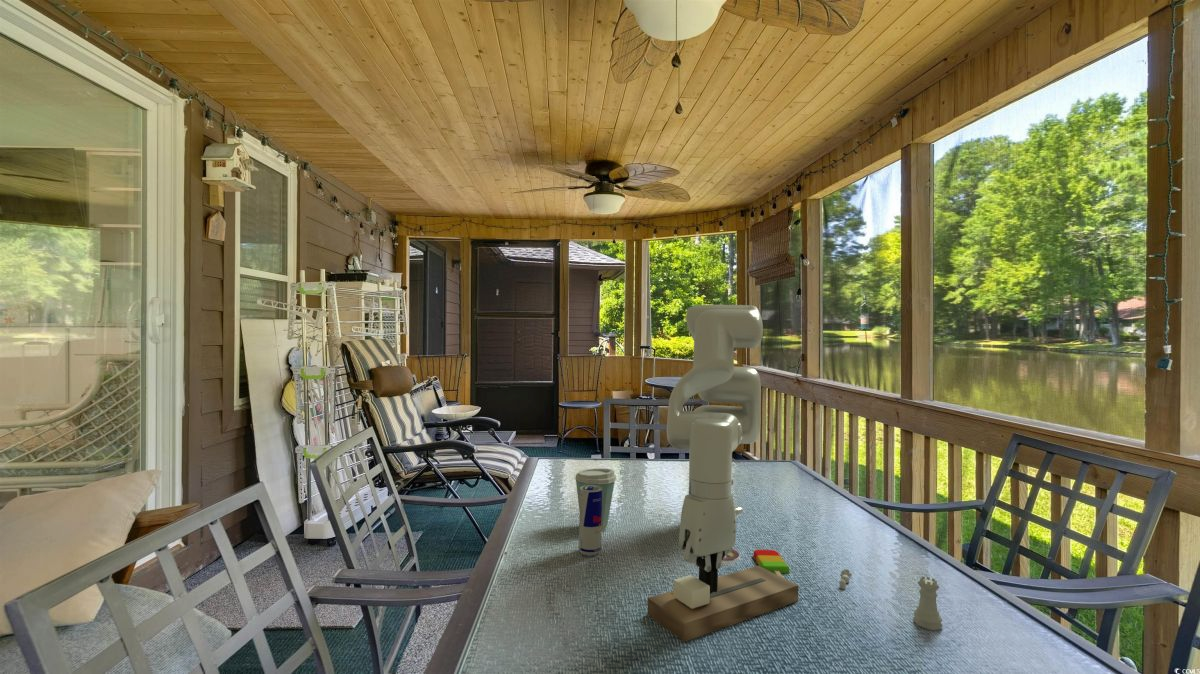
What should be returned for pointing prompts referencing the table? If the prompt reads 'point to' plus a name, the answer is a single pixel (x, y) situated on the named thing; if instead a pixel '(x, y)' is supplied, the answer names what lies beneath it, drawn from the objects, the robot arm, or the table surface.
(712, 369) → the robot arm
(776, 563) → the popsicle
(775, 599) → the console
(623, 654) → the table surface
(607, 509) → the disposable coffee cup
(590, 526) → the beverage can
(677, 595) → the fader knob
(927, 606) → the rook chess piece
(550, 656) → the table surface
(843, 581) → the game pieces
